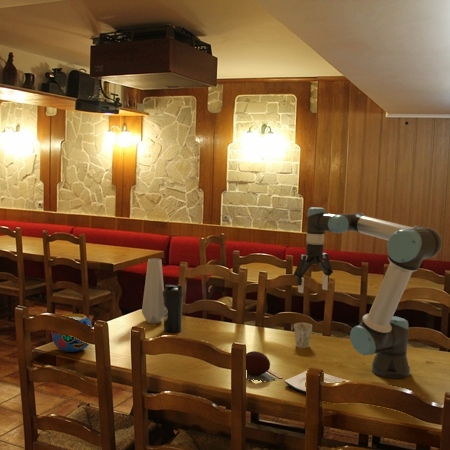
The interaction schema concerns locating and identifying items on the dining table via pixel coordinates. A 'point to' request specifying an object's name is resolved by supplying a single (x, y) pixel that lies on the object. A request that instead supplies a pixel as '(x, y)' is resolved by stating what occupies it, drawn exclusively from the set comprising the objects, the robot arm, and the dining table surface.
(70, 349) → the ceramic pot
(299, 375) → the plate
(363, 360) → the dining table surface
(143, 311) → the vase
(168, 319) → the water bottle
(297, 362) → the dining table surface
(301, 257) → the robot arm
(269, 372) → the pink thin rod
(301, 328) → the mug
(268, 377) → the mat
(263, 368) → the potato
